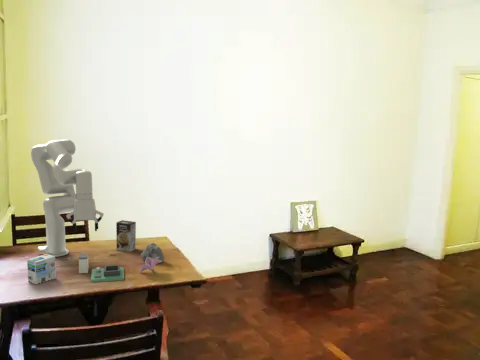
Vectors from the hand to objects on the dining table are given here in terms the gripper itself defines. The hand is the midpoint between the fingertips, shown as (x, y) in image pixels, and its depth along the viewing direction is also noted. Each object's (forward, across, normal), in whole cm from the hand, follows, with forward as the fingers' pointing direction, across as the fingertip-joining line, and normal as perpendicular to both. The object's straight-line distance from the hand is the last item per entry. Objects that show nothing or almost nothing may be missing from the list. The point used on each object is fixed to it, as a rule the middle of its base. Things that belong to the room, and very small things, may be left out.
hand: (85, 231), depth 231 cm
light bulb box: (+20, -19, -9) cm, 30 cm away
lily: (+21, +30, -8) cm, 38 cm away
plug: (+20, -2, 0) cm, 20 cm away
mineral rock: (+21, +32, +11) cm, 40 cm away
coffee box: (+20, +19, +31) cm, 42 cm away
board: (+20, +10, -8) cm, 24 cm away
